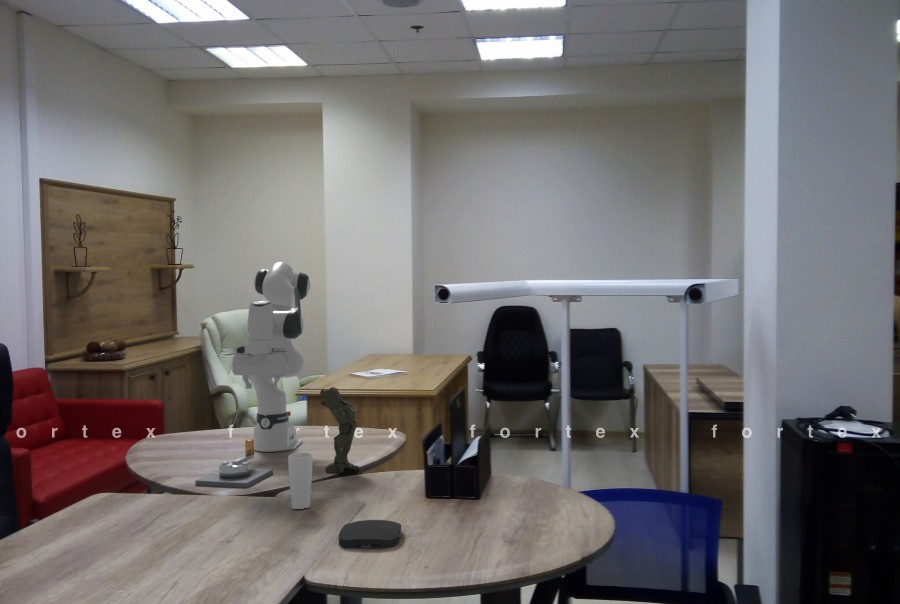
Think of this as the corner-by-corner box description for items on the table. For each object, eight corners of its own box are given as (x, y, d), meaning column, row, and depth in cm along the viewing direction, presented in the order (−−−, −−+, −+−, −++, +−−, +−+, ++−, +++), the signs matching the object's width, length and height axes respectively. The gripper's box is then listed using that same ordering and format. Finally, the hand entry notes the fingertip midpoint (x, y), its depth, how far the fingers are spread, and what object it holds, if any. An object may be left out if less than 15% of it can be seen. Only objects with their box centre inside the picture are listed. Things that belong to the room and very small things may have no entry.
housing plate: (224, 471, 250) (224, 466, 250) (272, 473, 246) (272, 468, 246) (195, 485, 232) (195, 479, 232) (246, 487, 229) (246, 482, 229)
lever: (241, 478, 233) (241, 449, 233) (213, 477, 235) (212, 448, 235) (265, 466, 249) (265, 439, 249) (238, 465, 252) (238, 438, 251)
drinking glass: (318, 507, 206) (317, 454, 206) (298, 512, 201) (297, 458, 201) (303, 502, 211) (303, 451, 211) (284, 508, 206) (283, 455, 206)
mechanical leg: (370, 466, 252) (348, 382, 252) (365, 471, 245) (343, 384, 245) (332, 475, 253) (311, 391, 254) (327, 480, 246) (305, 394, 247)
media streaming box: (346, 530, 187) (346, 518, 187) (403, 530, 187) (403, 518, 187) (335, 550, 173) (335, 537, 172) (397, 550, 172) (397, 537, 172)
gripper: (293, 348, 250) (293, 388, 249) (239, 347, 254) (239, 387, 254) (285, 348, 243) (285, 390, 243) (229, 348, 248) (229, 389, 248)
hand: (261, 388), depth 249 cm, fingers open, 8 cm apart
